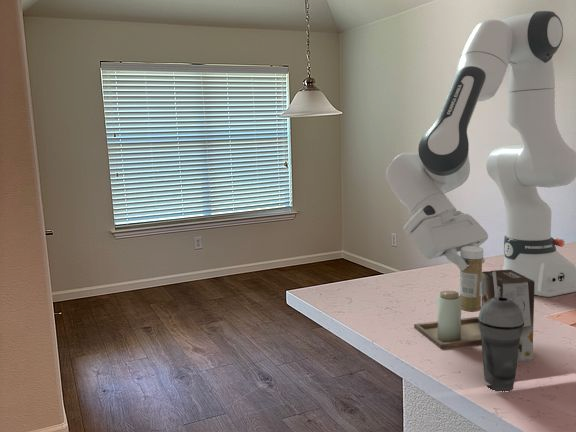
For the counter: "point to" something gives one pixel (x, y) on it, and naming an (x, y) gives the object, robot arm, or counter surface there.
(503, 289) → the coffee box
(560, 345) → the counter surface
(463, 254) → the sprinkles bottle
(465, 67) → the robot arm
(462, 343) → the tray
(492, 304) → the beverage cup
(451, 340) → the jar
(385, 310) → the counter surface
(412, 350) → the counter surface
